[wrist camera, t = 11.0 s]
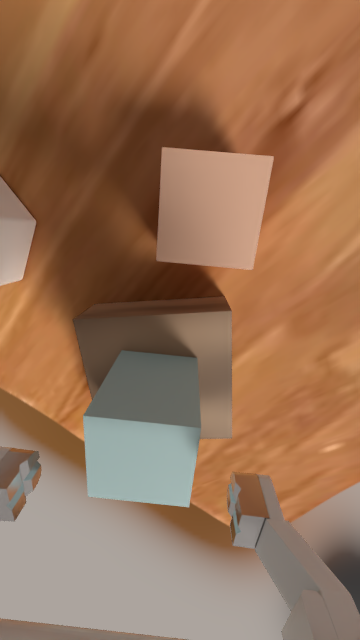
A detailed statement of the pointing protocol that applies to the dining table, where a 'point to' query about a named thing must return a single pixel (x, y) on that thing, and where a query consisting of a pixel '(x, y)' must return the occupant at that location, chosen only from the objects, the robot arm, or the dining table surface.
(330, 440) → the dining table surface
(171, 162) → the terracotta block
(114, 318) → the walnut base block
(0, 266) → the jar
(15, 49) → the dining table surface
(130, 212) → the dining table surface
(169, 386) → the pale blue block
